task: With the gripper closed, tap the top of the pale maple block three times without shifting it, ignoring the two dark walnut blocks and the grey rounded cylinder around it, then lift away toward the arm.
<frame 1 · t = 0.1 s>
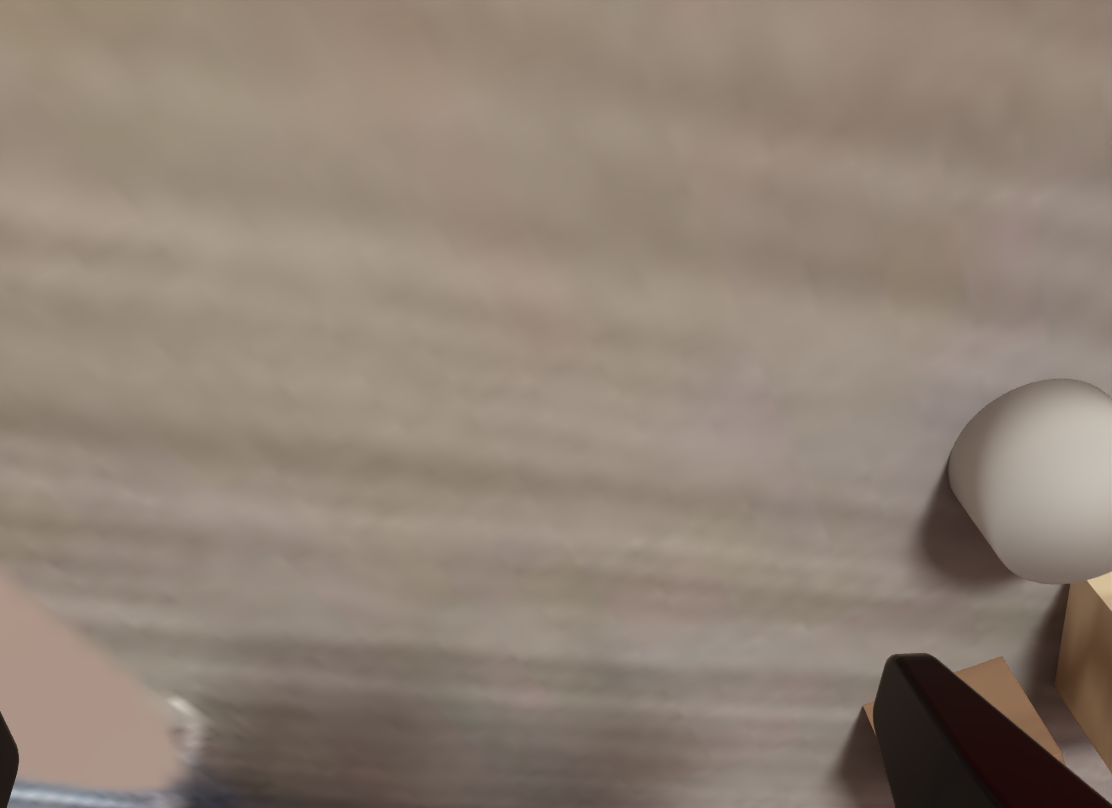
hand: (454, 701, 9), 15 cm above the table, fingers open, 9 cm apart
walnut block b: (945, 718, 33), on the table
grey rounded cylinder: (1031, 450, 27), on the table
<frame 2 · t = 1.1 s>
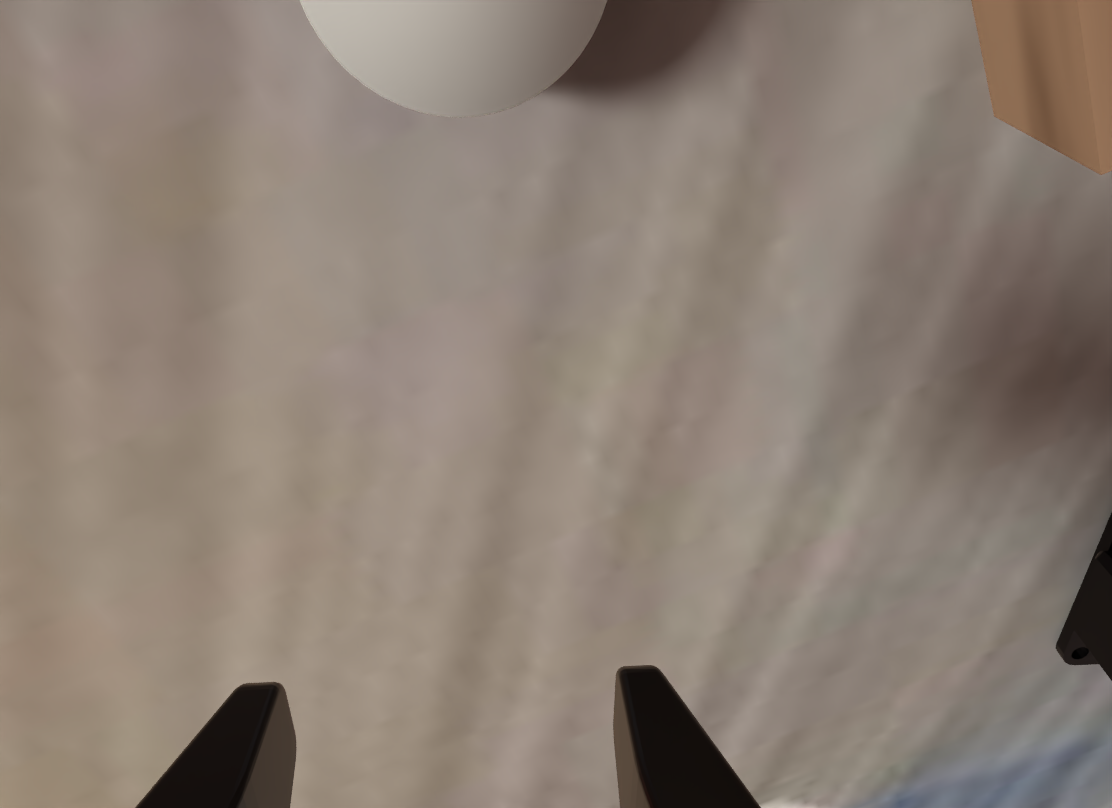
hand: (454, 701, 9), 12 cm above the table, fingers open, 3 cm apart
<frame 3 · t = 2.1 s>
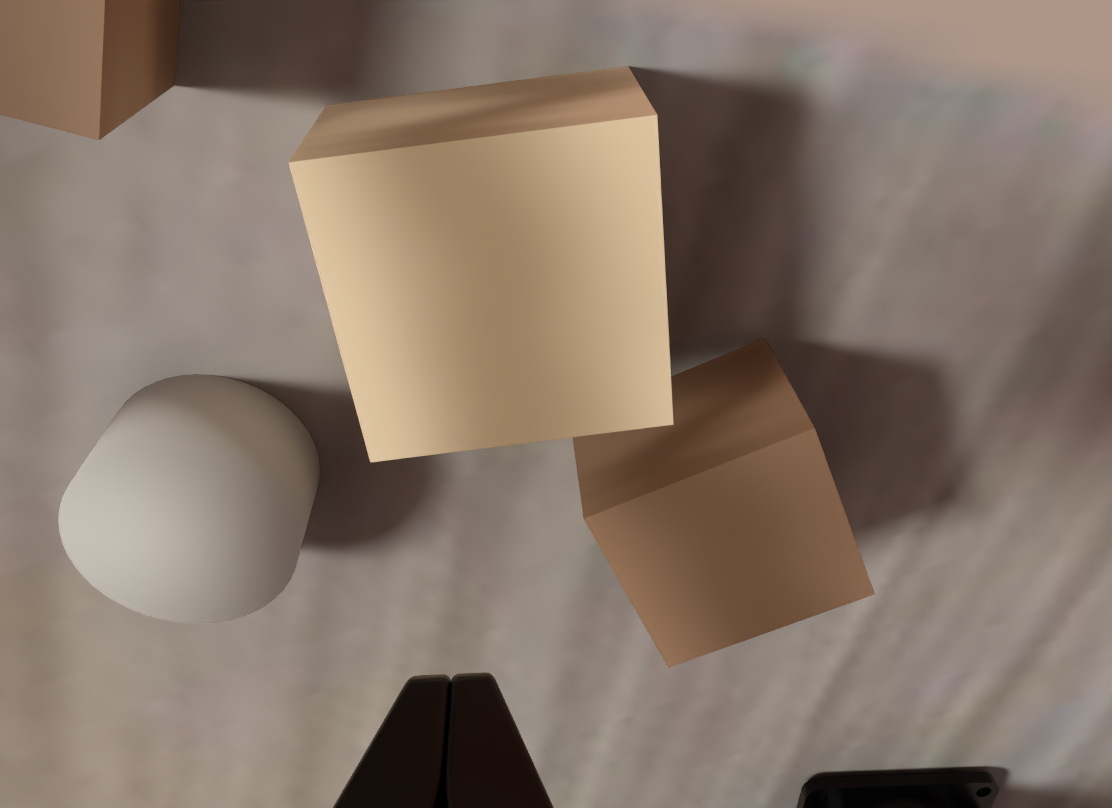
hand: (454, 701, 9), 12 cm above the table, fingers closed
walnut block b: (699, 452, 23), on the table
maple block: (499, 226, 20), on the table
grey rounded cylinder: (216, 460, 22), on the table
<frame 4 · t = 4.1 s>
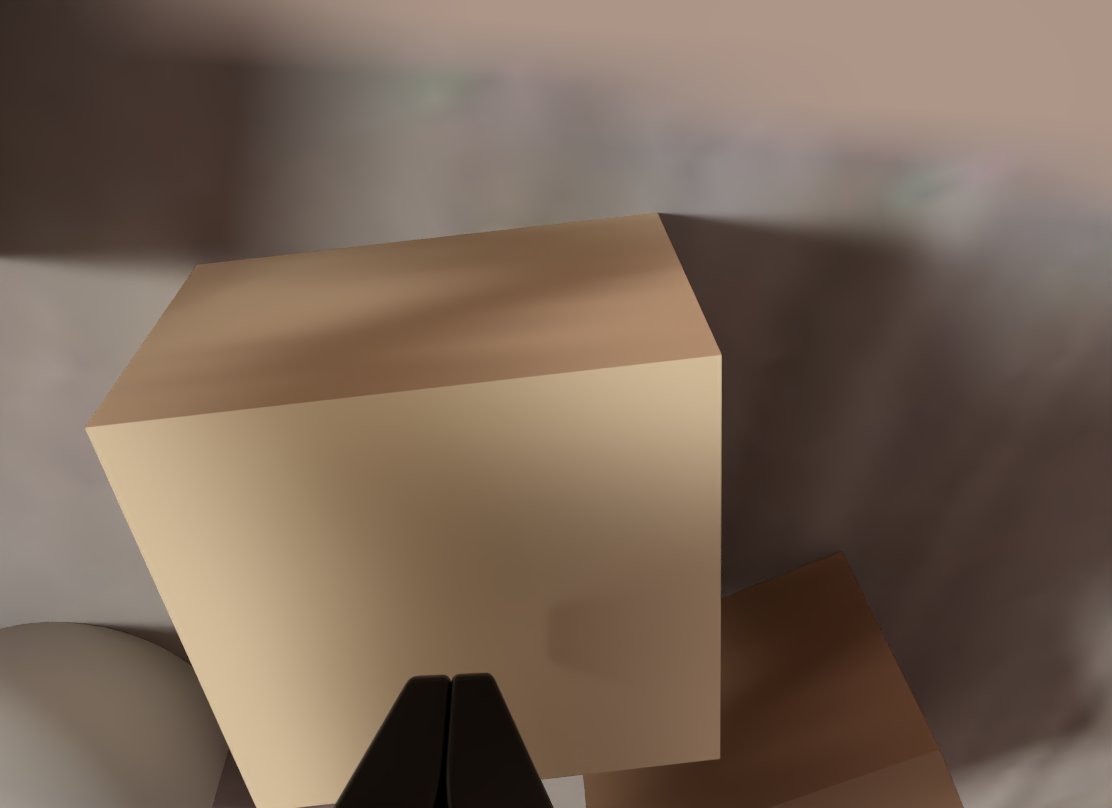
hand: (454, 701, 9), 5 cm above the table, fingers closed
walnut block b: (748, 685, 17), on the table
maple block: (462, 423, 13), on the table
grey rounded cylinder: (88, 718, 16), on the table
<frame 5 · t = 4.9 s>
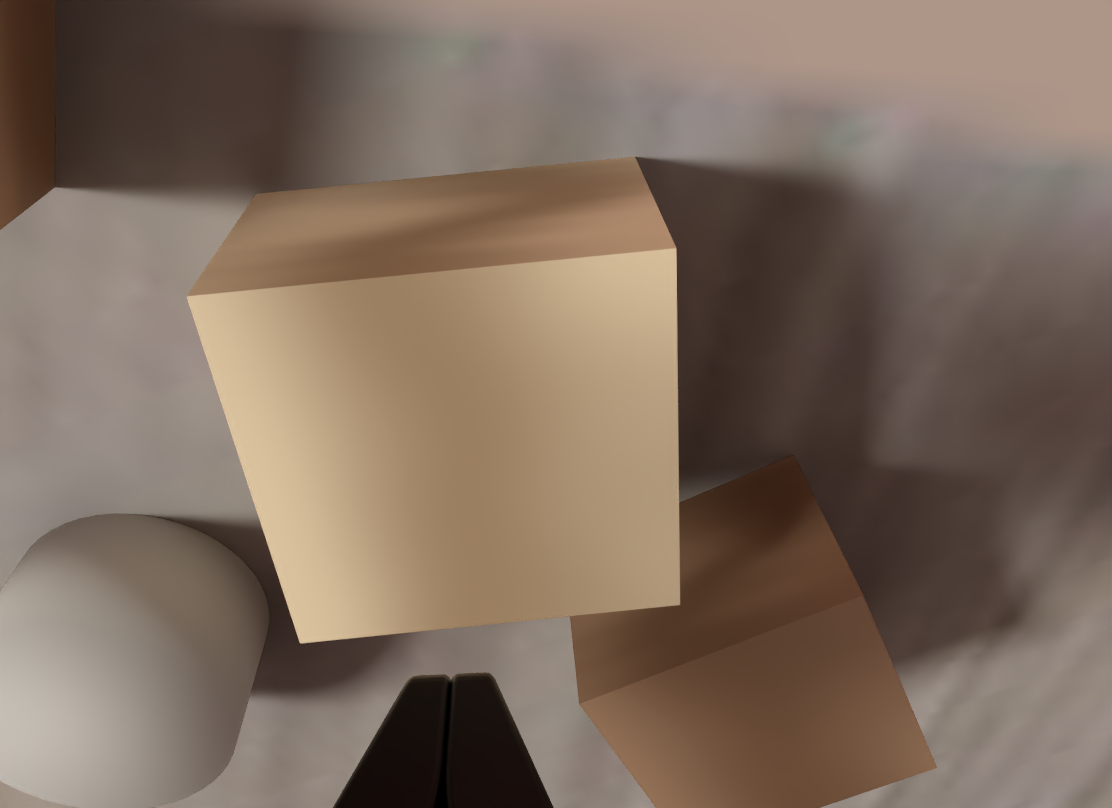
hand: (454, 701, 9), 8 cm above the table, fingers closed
walnut block b: (718, 580, 19), on the table
maple block: (470, 337, 16), on the table
grey rounded cylinder: (146, 605, 19), on the table
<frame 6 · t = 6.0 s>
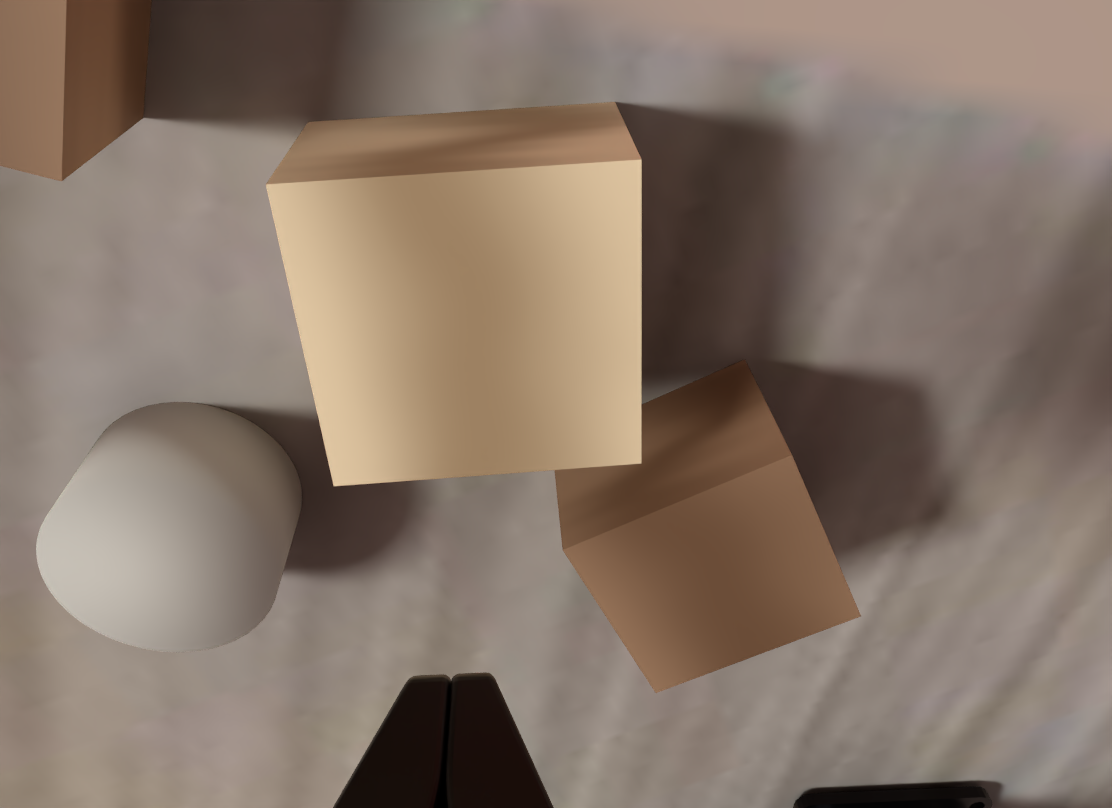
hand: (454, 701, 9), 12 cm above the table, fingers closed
walnut block b: (684, 474, 23), on the table
maple block: (477, 252, 19), on the table
grey rounded cylinder: (198, 486, 22), on the table
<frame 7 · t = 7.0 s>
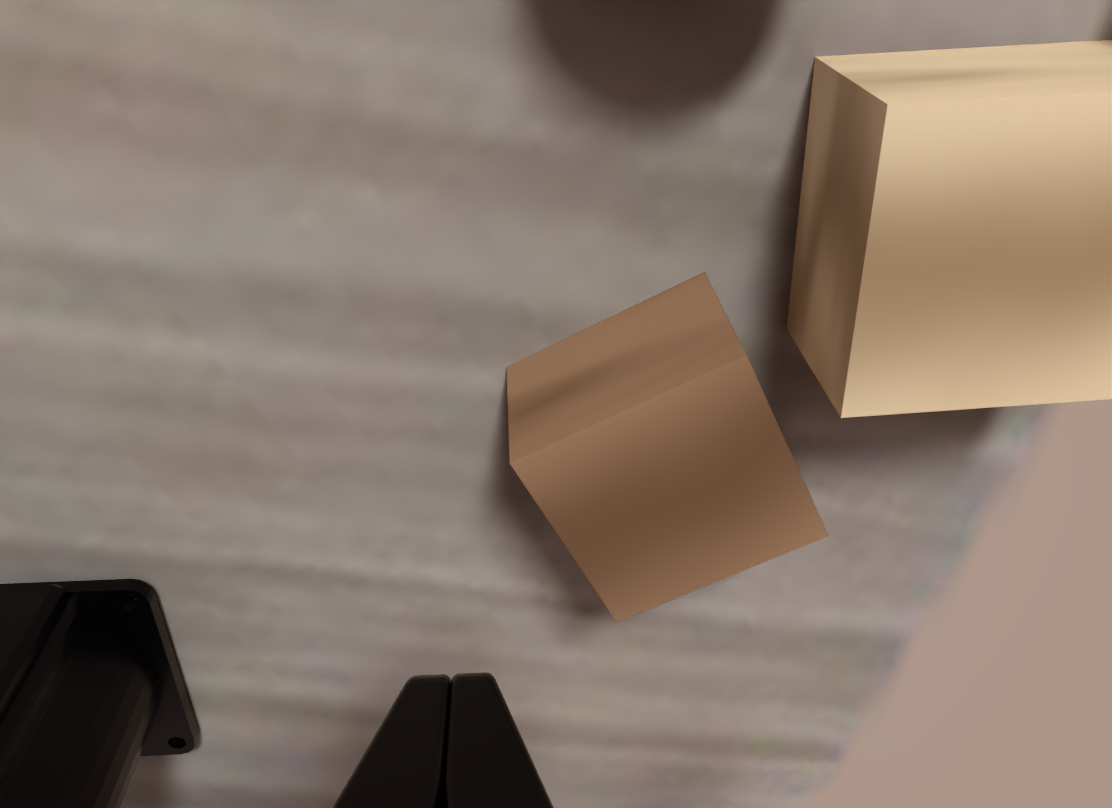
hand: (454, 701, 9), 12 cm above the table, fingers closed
walnut block b: (646, 399, 22), on the table
maple block: (933, 192, 20), on the table
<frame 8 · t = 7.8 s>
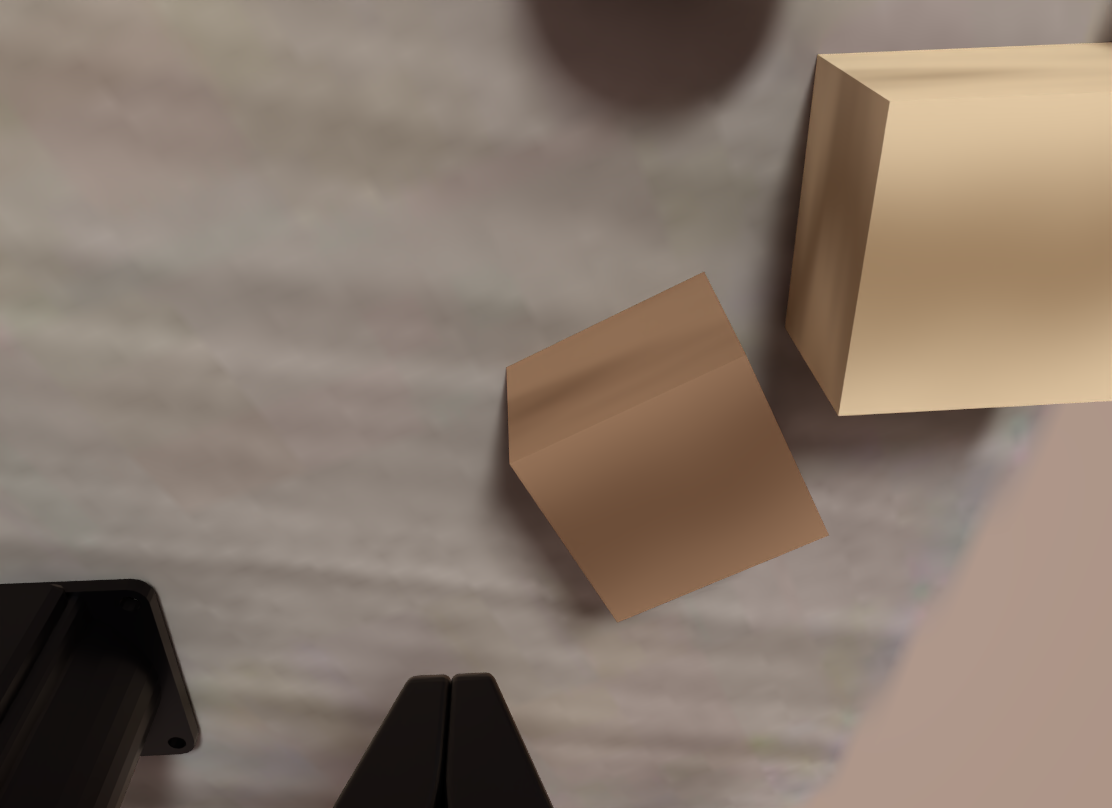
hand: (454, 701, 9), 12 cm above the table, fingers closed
walnut block b: (646, 399, 22), on the table
maple block: (934, 192, 20), on the table
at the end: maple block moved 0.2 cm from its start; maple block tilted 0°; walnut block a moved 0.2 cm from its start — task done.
